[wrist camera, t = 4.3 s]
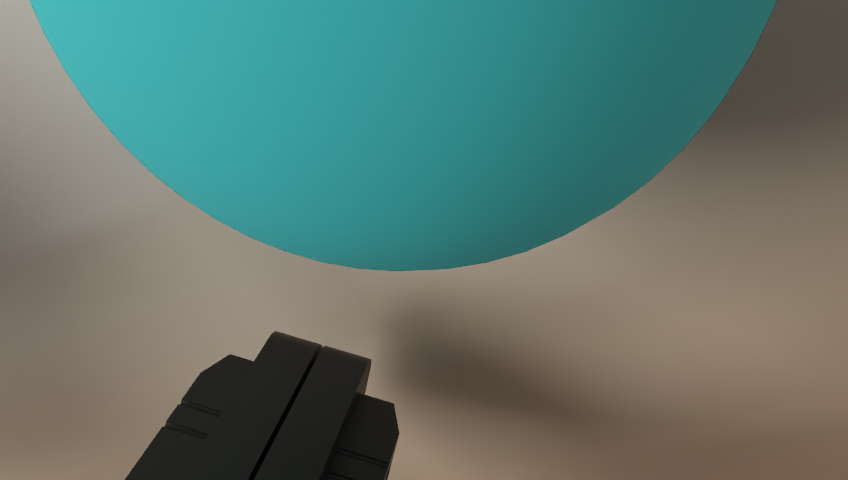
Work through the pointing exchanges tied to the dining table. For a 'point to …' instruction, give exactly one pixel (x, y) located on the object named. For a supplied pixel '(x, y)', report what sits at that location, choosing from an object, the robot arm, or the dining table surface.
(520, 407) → the dining table surface
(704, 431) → the dining table surface
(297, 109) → the ball
